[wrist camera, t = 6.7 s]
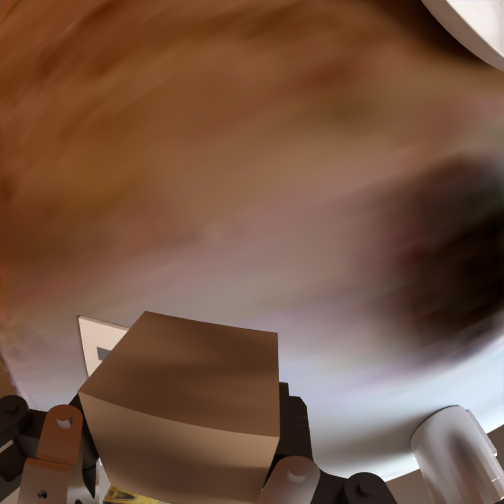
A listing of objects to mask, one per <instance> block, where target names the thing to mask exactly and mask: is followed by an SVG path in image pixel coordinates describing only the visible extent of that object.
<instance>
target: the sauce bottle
mask: <svg viewBox="0 0 504 504" xmlns="http://www.w3.org/2000/svg"><path fill="white" fill-rule="evenodd" d="M159 502H160V501H159V500H155V499H152V498H148V497H145V496H142V495H138V494H135V493H132V492H129V491H126V490H123V489H120V488H118V487H115V486H112V485H111V486H110V488H109V490H108V492H107V494H106V496H105V498H104V500H103V504H159Z"/></svg>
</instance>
